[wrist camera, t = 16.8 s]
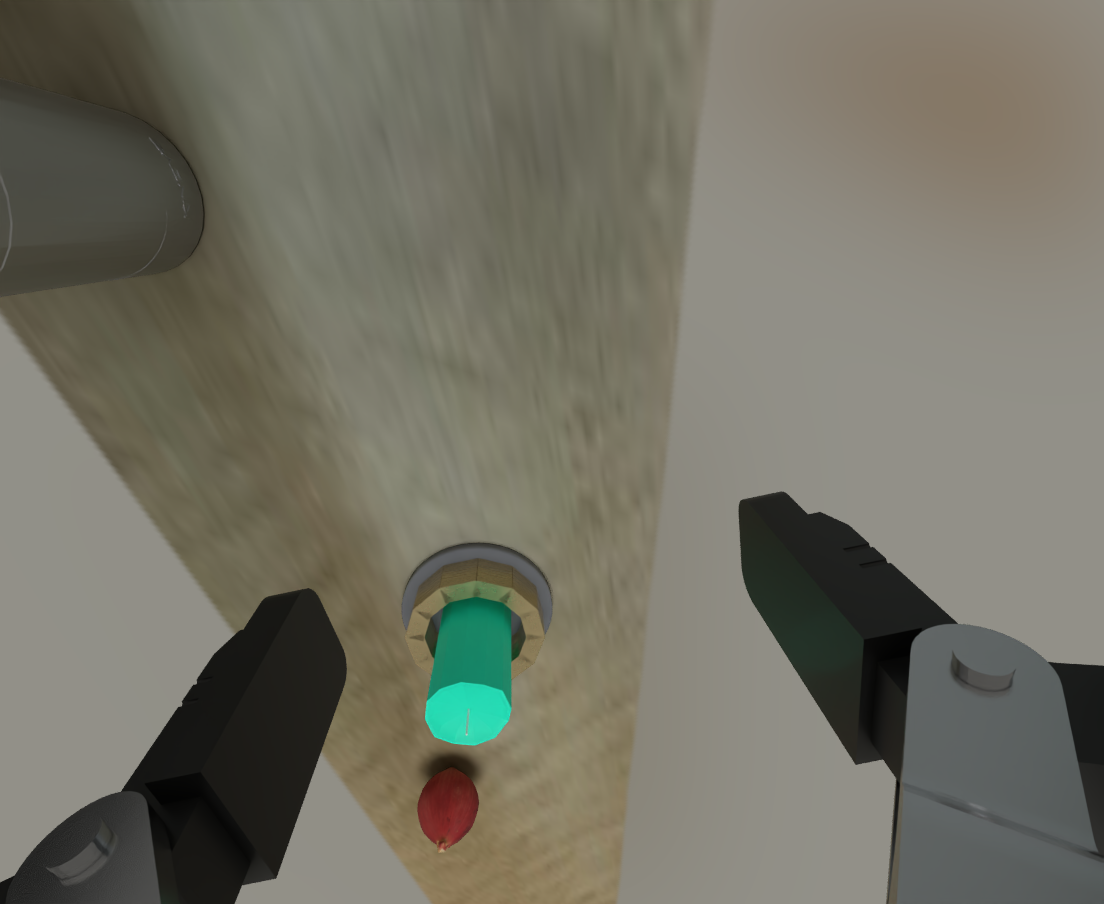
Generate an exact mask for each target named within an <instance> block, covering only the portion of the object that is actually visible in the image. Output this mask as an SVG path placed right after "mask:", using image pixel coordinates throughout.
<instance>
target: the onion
mask: <svg viewBox="0 0 1104 904" xmlns="http://www.w3.org/2000/svg"><path fill="white" fill-rule="evenodd" d="M478 805H479V799H478V793H477V791H476V788H475V785H474V784H473V782H472V780H471V779H470V778H468V777H467V776H466V775H465V774H464V773H462V772H461V771H459V770H457V769H456V768H454V767H449V768H448V769H446V770H444V771H442V772H439V773H438V774H436V775H435V776H433V777H432V778H431V779H430V780H429V781H428V782H427V784H426V785H425V787H424V788H423V790H422V793H421V795H420V798H419V801H418V811H417V812H418V817H419V822H420V825H421V828H422V830H423V832H424V834H425V835H426V836H427V837H428V838H429V839H430V840H431V841H432V842H433V843H435V844H437V848H438V852H439V853H441V852H445V851H446V849H448V848H449V847H450V846H451V845H454V844H455V843H457V842H458V841H459V840H461V839H462V838H463V837H464V836H465V835H466V834H467V833H468V831H469V830H470V829H471V827H472V826H473V823H474V821H475V818H476V814H477V811H478Z"/></svg>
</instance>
